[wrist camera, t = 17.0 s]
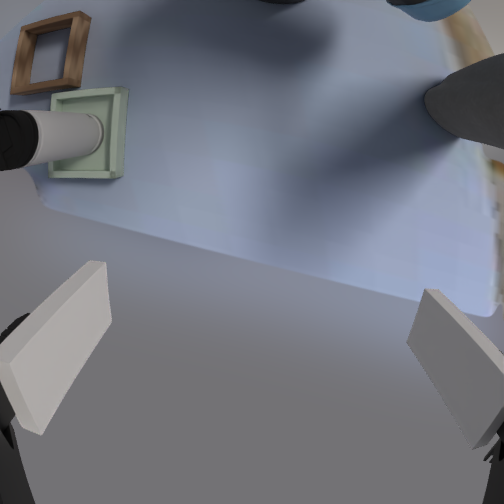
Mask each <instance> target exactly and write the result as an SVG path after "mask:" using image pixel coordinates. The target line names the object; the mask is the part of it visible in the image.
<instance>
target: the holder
mask: <svg viewBox="0 0 504 504" xmlns="http://www.w3.org/2000/svg"><path fill="white" fill-rule="evenodd" d="M90 23H91V17H89V16H88V15H86V14H85V13H83V12H81V11H77V12H72V13H68V14H64V15H60V16H56V17H52V18H48V19H45V20H41V21H38V22H34V23H31V24H28V25H25V26H22V27H21V31H20V35H19V40H18V45H17V51H16V56H15V62H14V68H13V75H12V83H11V91H10V94H12V95H29V94H35V93H41V92H47V91H53V90H60V89H68V88H75V87H81V78H82V70H83V63H84V56H85V50H86V44H87V38H88V33H89V28H90ZM69 27H71V31H70V37H69V42H68V48H67V54H66V60H65V67H64V74H63V78H62V79H56V80H50V81H44V82H39V83H33V84H30V77H31V69H32V63H33V57H34V51H35V45H36V40H37V35H40V34H44V33H48V32H52V31H56V30H60V29H64V28H69Z"/></svg>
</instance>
